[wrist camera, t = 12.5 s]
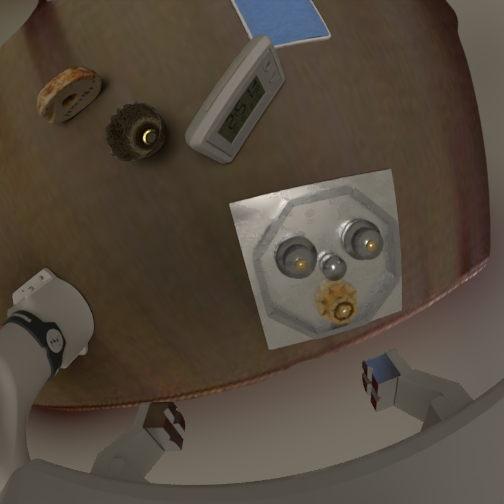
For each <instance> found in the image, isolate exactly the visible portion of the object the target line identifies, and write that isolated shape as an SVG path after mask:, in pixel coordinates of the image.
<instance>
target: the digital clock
mask: <svg viewBox="0 0 504 504" xmlns="http://www.w3.org/2000/svg"><path fill="white" fill-rule="evenodd" d="M284 81H285V76H284V73H283V70H282V67H281V64H280V61H279V58H278V56H277V53H276V50H275V47H274V45H273V43H272V42H271V40H270V38H269V37H268V36H266V35H258V36H256V37H253V38H252V39H251V40H250V41H249V42H248V43H247V44H246V46H245V47H244V48H243V49H242V51H241V52H240V53H239V54H238V56H237V57H236V58H235V60H234V61H233V62H232V63H231V65H230V66H229V67H228V69H227V70H226V72H225V73H224V74H223V76H222V77H221V78H220V80H219V81H218V83H217V84H216V86H215V87H214V88H213V90H212V91H211V93H210V94H209V96H208V97H207V99H206V100H205V102H204V103H203V105H202V106H201V108H200V109H199V111H198V112H197V114H196V115H195V117H194V119H193V120H192V122H191V124H190V125H189V127H188V129H187V131H186V133H185V141H186V143H187V144H188V146H190V147H191V148H192V149H194V150H196V151H198V152H200V153H202V154H204V155H206V156H207V157H209V158H211V159H213V160H215V161H217V162H219V163H221V164H224V163H228V162H231V161H232V160H233V159H234V157H235V155H236V154H237V152H238V151H239V149H240V148H241V146H242V145H243V143H244V141H245V140H246V138H247V137H248V135H249V134H250V132H251V130H252V129H253V127H254V126H255V124H256V123H257V121H258V120H259V118H260V117H261V115H262V114H263V112H264V111H265V109H266V108H267V106H268V105H269V103H270V102H271V100H272V99H273V98H274V96H275V95H276V93H277V92H278V90H279V89H280V87H281V86H282V84H283V83H284Z"/></svg>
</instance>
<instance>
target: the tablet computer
mask: <svg viewBox="0 0 504 504" xmlns="http://www.w3.org/2000/svg"><path fill="white" fill-rule="evenodd" d="M231 2H232V4H233V6H234V7H235V9H236V11H237V13H238V15H239V17H240V19H241V21H242V24H243V26H244V28H245V30H246V32H247V33H248V36H249V38H250V40H251V39H252V38H253V37H256V36H258V35H266V36H268V37H269V38H270V40H271V42H272V43H273V45H274V47H275V49H278V48H283V47H287V46H292V45H297V44H303V43H308V42H315V41H322V40H328V39H330V37H331V34H330V32H329V30H328V28H327V26H326V24H325V23H324V21H323V19H322V17H321V16H320V14H319V12H318V10H317V9H316V7H315V5H314V4H313V2H312V0H231Z"/></svg>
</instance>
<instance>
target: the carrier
mask: <svg viewBox="0 0 504 504" xmlns="http://www.w3.org/2000/svg"><path fill="white" fill-rule="evenodd" d="M229 205H230V209H231V213H232V216H233V220H234V224H235V227H236V231H237V235H238V239H239V242H240V246H241V250H242V253H243V257H244V261H245V264H246V268H247V272H248V275H249V279H250V283H251V286H252V290H253V294H254V297H255V301H256V305H257V308H258V312H259V315H260V319H261V323H262V326H263V330H264V333H265V337H266V341H267V344H268V348H269V350H272V349H276V348H280V347H284V346H288V345H292V344H296V343H300V342H304V341H307V340H311V339H320V338H324V337H327V336H331V335H334V334H337V333H341V332H344V331H347V330H350V329H353V328H357V327H360V326H363V325H366V324H367V322H370V321H373V320H375V319H378V318H381V317H384V316H387V315H390V314H392V313H395V312H398V311H400V310H402V274H401V251H400V236H399V225H398V215H397V206H396V198H395V191H394V184H393V178H392V172H391V169H383V170H377V171H372V172H366V173H361V174H355V175H350V176H345V177H340V178H335V179H330V180H325V181H320V182H316V183H311V184H306V185H302V186H297V187H293V188H289V189H284V190H280V191H276V192H271V193H267V194H263V195H259V196H255V197H251V198H247V199H243V200H239V201H235V202H231V203H229ZM341 279H342V280H343V281H345V282H346V283H348V284H349V285H351V286H353V287H354V288H355V289H356V290H357V302H358V305H357V311H358V312H357V313H356V315H355V316H354V317H353V319H352V320H351V321H350V322H347V323H343V324H340V325H339V324H337V323H335V322H331V321H329V320H327V319H325V318H323V317H321V316H320V315H319V313H318V308H317V302H316V296H317V295H318V294H319V292H320V291H321V289H322V288H323V287H324V285H325V284H327V283H330V282H334V281H338V280H341ZM335 308H336V309H337V310H338V312H339V313H340V315H341V316H342V317H347V316H348V315H349V314H350V309H349V308H348V306H347V305H346V303H345V302H341V303H338V305H337V306H336V307H335Z"/></svg>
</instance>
